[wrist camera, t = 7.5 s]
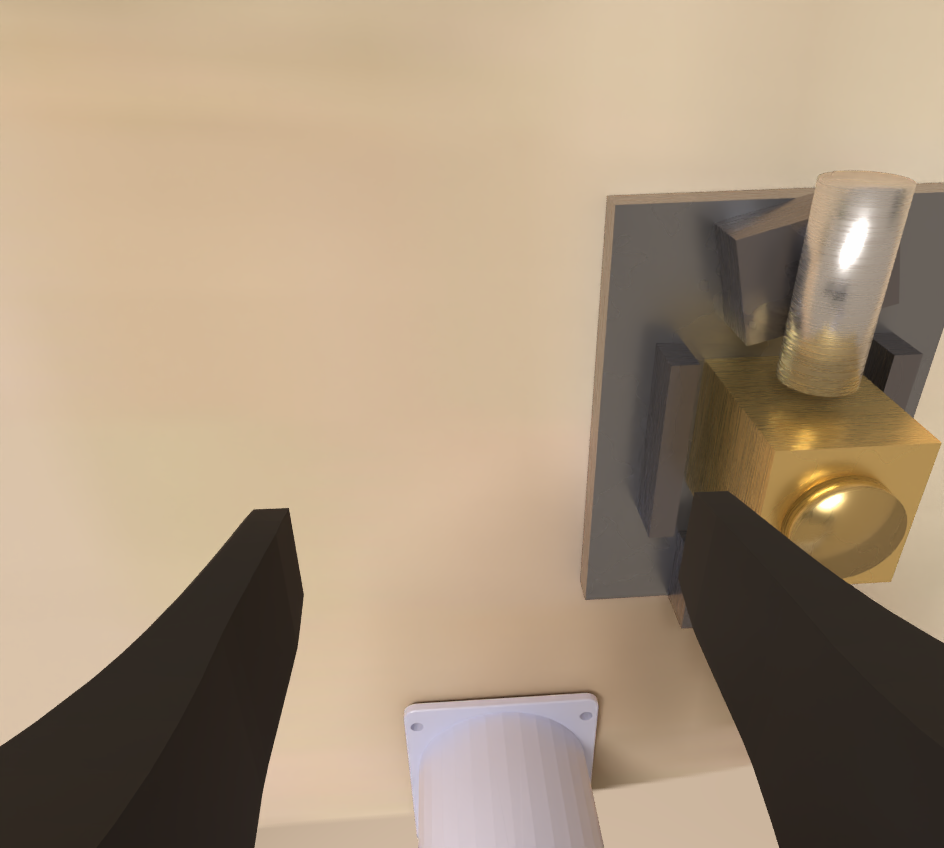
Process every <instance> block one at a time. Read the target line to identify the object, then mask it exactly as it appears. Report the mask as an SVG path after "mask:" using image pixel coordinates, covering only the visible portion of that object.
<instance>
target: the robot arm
mask: <svg viewBox="0 0 944 848" xmlns="http://www.w3.org/2000/svg"><path fill="white" fill-rule="evenodd" d="M678 579H679V583H680V587H681V590H682V594H683V597H684V601H685V604H686V608H687V611H688V614H689V618H690V621H691V624H692V627H693V630H694V632H695V635H696V637H697V639H698V642H699V644H700V646H701V648H702V651H703V653H704V655H705V658H706V660H707V662H708V664H709V667H710V669H711V671H712V673H713V676H714V678H715V680H716V682H717V684H718V687H719V689H720V691H721V693H722V696H723V698H724V700H725V702H726V704H727V707H728V709H729V711H730V713H731V716H732V718H733V720H734V722H735V724H736V727H737V729H738V731H739V733H740V736H741V738H742V740H743V743H744V745H745V748H746V750H747V753H748V755H749V758H750V760H751V763H752V765H753V768H754V771H755V774H756V777H757V780H758V783H759V786H760V789H761V792H762V795H763V798H764V801H765V804H766V807H767V810H768V813H769V816H770V819H771V822H772V826H773V829H774V832H775V835H776V839H777V842H778V845H779V848H944V643H943V642H941V641H939V640H937V639H936V638H934V637H932V636H930V635H929V634H927V633H925V632H924V631H922V630H920V629H919V628H917V627H915V626H914V625H912V624H910V623H909V622H907V621H905V620H904V619H902V618H900V617H898V616H897V615H895V614H894V613H892V612H890V611H889V610H887V609H886V608H884V607H883V606H881V605H879V604H878V603H876V602H875V601H873V600H872V599H870V598H869V597H867V596H866V595H865V594H863V593H862V592H860V591H859V590H857V589H856V588H854V587H853V586H852V585H850V584H849V583H847V582H846V581H844V580H843V579H841V578H840V577H839V576H837V575H836V574H835V573H833V572H832V571H830V570H829V569H828V568H826V567H825V566H824V565H822V564H821V563H820V562H818V561H817V560H816V559H814V558H813V557H812V556H810V555H809V554H808V553H806V552H805V551H804V550H802V549H801V548H800V547H799V546H797V545H796V544H795V543H793V542H792V541H791V540H790V539H788V538H787V537H786V536H785V535H783V534H782V533H781V532H780V531H778V530H777V529H776V528H775V527H773V526H772V525H771V524H770V523H768V522H767V521H766V520H765V519H763V518H762V517H761V516H760V515H758V514H757V513H756V512H755V511H753V510H752V509H751V508H750V507H748V506H747V505H746V504H745V503H743V502H742V501H741V500H739V499H738V498H737V497H735V496H734V495H733V494H731V493H730V492H729V491H711V492H694V496H693V501H692V507H691V512H690V517H689V523H688V528H687V533H686V539H685V544H684V549H683V554H682V560H681V565H680V570H679V576H678ZM303 597H304V593H303V588H302V582H301V576H300V570H299V564H298V559H297V553H296V547H295V541H294V535H293V530H292V524H291V518H290V512H289V508H281V509H256V510H253V511H252V512H251V513H250V514H249V515H248V516H247V517H246V518H245V520H244V521H243V522H242V523H241V524H240V526H239V527H238V528H237V529H236V531H235V532H234V533H233V534H232V536H231V537H230V538H229V539H228V540H227V542H226V543H225V544H224V545H223V547H222V548H221V549H220V550H219V551H218V553H217V554H216V555H215V556H214V557H213V559H212V560H211V561H210V562H209V563H208V564H207V566H206V567H205V568H204V569H203V570H202V571H201V572H200V573H199V575H198V576H197V577H196V578H195V579H194V580H193V581H192V583H191V584H190V585H189V586H188V587H187V588H186V589H185V591H184V592H183V593H182V594H181V595H180V596H179V597H178V598H177V599H176V600H175V601H174V602H173V603H172V604H171V605H170V606H169V607H168V608H167V609H166V611H165V612H164V613H163V614H162V615H161V616H160V617H159V618H158V619H157V620H156V621H155V622H154V623H153V624H152V625H151V626H150V627H149V628H148V629H147V630H146V631H145V632H144V633H143V634H142V635H141V636H140V637H139V638H138V639H137V640H136V641H135V642H133V643H132V644H131V645H130V646H129V647H128V648H127V649H126V650H125V651H124V652H123V653H122V654H120V655H119V656H118V657H117V658H116V659H115V660H114V661H113V662H111V663H110V664H109V665H108V666H107V667H106V668H104V669H103V670H102V671H101V672H100V673H99V674H97V675H96V676H95V677H94V678H93V679H91V680H90V681H89V682H88V683H86V684H85V685H84V686H82V687H81V688H80V689H78V690H77V691H76V692H74V693H73V694H72V695H71V696H69V697H68V698H67V699H65V700H64V701H63V702H61V703H60V704H59V705H57V706H56V707H55V708H54V709H52V710H51V711H50V712H48V713H47V714H46V715H44V716H43V717H42V718H40V719H39V720H38V721H36V722H35V723H34V724H32V725H31V726H29V727H28V728H26V729H25V730H24V731H22V732H21V733H19V734H18V735H16V736H15V737H13V738H12V739H10V740H9V741H8V742H6V743H5V744H3V745H2V746H0V848H254V847H255V840H256V833H257V826H258V820H259V813H260V806H261V799H262V793H263V788H264V783H265V778H266V773H267V769H268V764H269V760H270V756H271V752H272V748H273V744H274V740H275V736H276V732H277V728H278V724H279V720H280V716H281V712H282V708H283V704H284V700H285V696H286V692H287V688H288V684H289V680H290V676H291V672H292V668H293V664H294V660H295V656H296V651H297V647H298V639H299V631H300V624H301V615H302V606H303ZM598 707H599V706H598V702H597V697H596V696H595V695H593V694H591V693H575V694H560V695H544V696H528V697H512V698H497V699H481V700H465V701H449V702H433V703H418V704H411V705H409V706H408V707H406V709H405V710H404V725H405V733H406V742H407V751H408V760H409V769H410V778H411V787H412V796H413V805H414V813H415V822H416V831H417V838H418V848H604V845H603V840H602V836H601V831H600V826H599V821H598V817H597V812H596V807H595V802H594V798H593V793H592V788H591V778H592V768H593V758H594V748H595V737H596V727H597V717H598Z"/></svg>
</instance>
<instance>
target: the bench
mask: <svg viewBox="0 0 944 848" xmlns="http://www.w3.org/2000/svg"><path fill="white" fill-rule="evenodd" d="M943 328H944V183H923V184H917V183H916V182H915V181H914V180H912V179H910V178H907V177H903V176H899V175H895V174H889V173H882V172H872V171H833V172H827V173H823V174H820V175H819V176H818V177H817V182H816V187H815V188H794V189H769V190H743V191H717V192H691V193H666V194H640V195H614V196H607V205H606V219H605V233H604V248H603V262H602V276H601V290H600V305H599V319H598V333H597V348H596V362H595V376H594V391H593V405H592V419H591V434H590V448H589V462H588V476H587V491H586V505H585V519H584V534H583V548H582V562H581V577H580V582H581V585H582V589H583V593H584V597H585V600H592V599H609V598H626V597H643V596H660V595H668V597H669V599H670V602H671V604H672V607H673V609H674V611H675V614H676V616H677V619H678V621H679V624H680V626H681V628H693V627H692V624H691V621H690V618H689V614H688V611H687V608H686V604H685V601H684V597H683V594H682V590H681V587H680V583H679V579H678V576H679V570H680V565H681V560H682V554H683V549H684V544H685V539H686V533H687V528H688V523H689V517H690V512H691V507H692V501H693V495H692V493H691V491H690V489H689V487H688V485H687V483H686V475H687V469H688V462H689V456H690V449H691V443H692V436H693V430H694V424H695V417H696V411H697V404H698V398H699V391H700V385H701V378H702V372H703V366H704V359H718V358H739V357H760V356H779V360H778V365H777V369H776V376H777V378H778V380H779V381H780V382H781V383H783V384H784V385H786V386H787V387H789V388H791V389H794V390H796V391H799V392H802V393H805V394H810V395H815V396H823V397H840V396H846V395H850V394H852V393H854V392H856V391H857V390H858V388H859V385H860V382H861V378H862V375H864V376H865V377H866V378H867V379H869V380H870V381H871V382H872V383H873V384H874V385H876V386H877V387H878V388H879V389H880V390H881V391H882V392H884V393H885V394H886V395H887V396H888V397H889V398H890V399H892V400H893V401H894V402H895V403H896V404H897V405H899V406H900V407H901V408H902V409H903V410H904V411H905V412H907V413H908V414H909V415H910V416H911V417H912V418H913V417H914V414H915V411H916V408H917V405H918V402H919V399H920V396H921V393H922V390H923V388H924V385H925V382H926V379H927V376H928V373H929V370H930V367H931V364H932V361H933V358H934V355H935V352H936V349H937V346H938V343H939V340H940V337H941V334H942V331H943Z"/></svg>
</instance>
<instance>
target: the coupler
mask: <svg viewBox="0 0 944 848" xmlns="http://www.w3.org/2000/svg"><path fill="white" fill-rule="evenodd" d="M778 360H779V356H760V357H739V358H718V359H704V366H703V372H702V378H701V385H700V391H699V398H698V404H697V411H696V417H695V424H694V430H693V436H692V443H691V449H690V456H689V462H688V469H687V475H686V483H687V485H688V487H689V489H690V491H691V493H692V495H693V496H694V492H711V491H729V492H730V493H731V494H733V495H734V496H735V497H737V498H738V499H739V500H741V501H742V502H743V503H745V504H746V505H747V506H748V507H750V508H751V509H752V510H753V511H755V512H756V513H757V514H758V515H760V516H761V517H762V518H763V519H765V520H766V521H767V522H768V523H770V524H771V525H772V526H773V527H775V528H776V529H777V530H778V531H780V532H781V533H782V534H783V535H785V536H786V537H787V538H788V539H790V540H791V541H792V542H793V543H795V544H796V545H797V546H799V547H800V548H801V549H802V550H804V551H805V552H806V553H808V554H809V555H810V556H812V557H813V558H814V559H816V560H817V561H818V562H820V563H821V564H822V565H824V566H825V567H826V568H828V569H829V570H830V571H832V572H833V573H835V574H836V575H837V576H839V577H840V578H841V579H843V580H844V581H846V582H847V583H849V584H860V583H877V582H891V580H892V577H893V574H894V572H895V569H896V566H897V563H898V561H899V558H900V555H901V553H902V550H903V547H904V544H905V542H906V539H907V536H908V533H909V531H910V528H911V525H912V522H913V520H914V517H915V514H916V511H917V509H918V506H919V503H920V501H921V498H922V495H923V492H924V490H925V487H926V484H927V481H928V479H929V476H930V473H931V470H932V468H933V465H934V462H935V459H936V457H937V454H938V451H939V449H940V446H941V442H940V441H939V440H938V439H937V438H935V437H934V436H933V435H932V434H931V433H930V432H929V431H927V430H926V429H925V428H924V427H923V426H922V425H920V424H919V423H918V422H917V421H916V420H915V419H914V418H912V417H911V416H910V415H909V414H908V413H907V412H905V411H904V410H903V409H902V408H901V407H900V406H899V405H897V404H896V403H895V402H894V401H893V400H892V399H890V398H889V397H888V396H887V395H886V394H885V393H884V392H882V391H881V390H880V389H879V388H878V387H877V386H876V385H874V384H873V383H872V382H871V381H870V380H869V379H867V378H866V377H865V376H864V375H862V378H861V382H860V385H859V388H858V390H857V391H856V392H854V393H852V394H850V395H846V396H840V397H823V396H815V395H810V394H805V393H802V392H799V391H796V390H794V389H791V388H789V387H787V386H786V385H784V384H783V383H781V382H780V381H779V380H778V378H777V376H776V369H777V365H778Z"/></svg>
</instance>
